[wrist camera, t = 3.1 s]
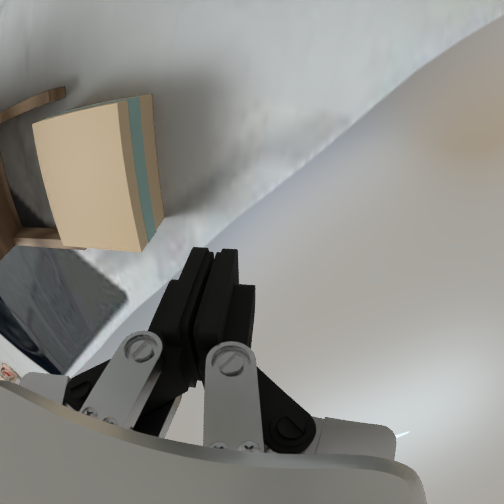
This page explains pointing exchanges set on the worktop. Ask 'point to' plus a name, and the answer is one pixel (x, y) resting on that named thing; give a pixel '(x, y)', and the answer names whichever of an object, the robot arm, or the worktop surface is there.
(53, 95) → the display stand
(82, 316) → the worktop surface
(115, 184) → the carton
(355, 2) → the worktop surface
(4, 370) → the teacup with lid
